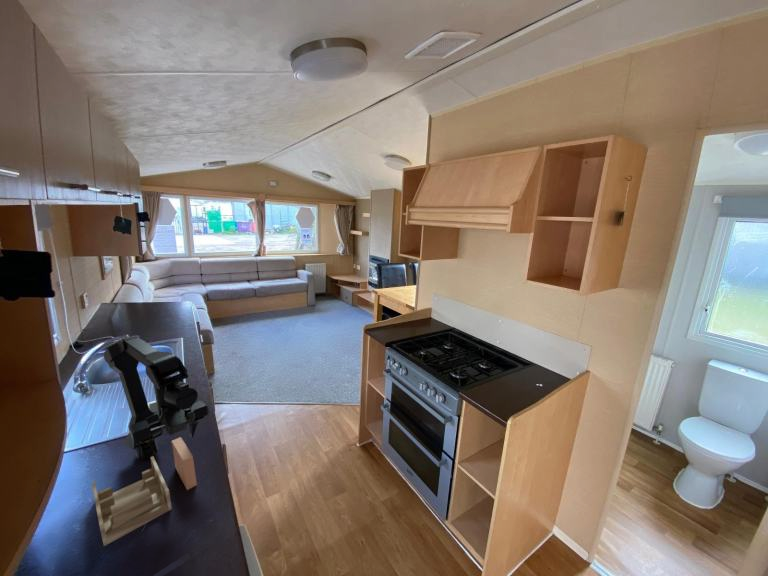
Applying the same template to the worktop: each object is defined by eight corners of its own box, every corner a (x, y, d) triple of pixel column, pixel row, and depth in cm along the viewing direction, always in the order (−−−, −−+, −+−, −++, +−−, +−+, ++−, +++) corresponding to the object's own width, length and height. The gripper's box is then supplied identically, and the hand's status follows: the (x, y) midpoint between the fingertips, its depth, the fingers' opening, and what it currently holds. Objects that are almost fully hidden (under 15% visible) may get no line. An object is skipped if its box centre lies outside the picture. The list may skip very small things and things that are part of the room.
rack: (96, 504, 88) (91, 482, 87) (156, 475, 98) (153, 456, 97) (104, 549, 76) (99, 525, 75) (172, 511, 86) (168, 490, 85)
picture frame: (194, 418, 128) (187, 396, 144) (193, 412, 127) (187, 390, 143) (145, 433, 119) (144, 408, 135) (144, 427, 118) (143, 402, 134)
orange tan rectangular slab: (187, 490, 92) (183, 460, 90) (175, 468, 100) (171, 440, 98) (196, 485, 94) (192, 456, 92) (184, 464, 102) (180, 437, 100)
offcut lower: (111, 524, 81) (109, 516, 81) (157, 500, 88) (156, 492, 88) (113, 534, 79) (111, 526, 78) (161, 509, 86) (159, 501, 85)
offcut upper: (111, 514, 81) (110, 506, 81) (149, 495, 87) (148, 488, 86) (114, 525, 79) (112, 516, 78) (153, 504, 84) (151, 496, 84)
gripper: (133, 424, 80) (142, 477, 83) (213, 396, 93) (218, 442, 96) (125, 406, 87) (133, 456, 90) (200, 382, 100) (205, 426, 104)
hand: (174, 444), depth 95 cm, fingers open, 9 cm apart
